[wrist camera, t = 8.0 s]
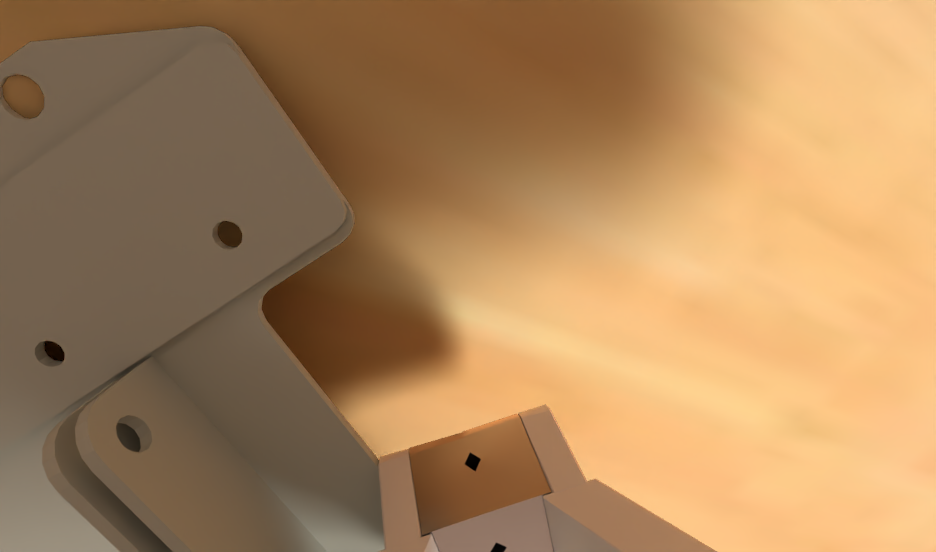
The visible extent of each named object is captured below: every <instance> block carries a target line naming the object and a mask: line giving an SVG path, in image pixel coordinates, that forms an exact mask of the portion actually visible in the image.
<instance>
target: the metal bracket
mask: <svg viewBox="0 0 936 552" xmlns="http://www.w3.org/2000/svg"><path fill="white" fill-rule="evenodd" d="M18 74H19V75H24V76H28V77H29V78H31V79H32V80H33V81H34V82H36V83H37V84H38V85H39V87H40V89H41V91H42V93H43V95H44V108H43V110H42V111H41V113H40V114H39V115H38V117H35V118H31V119H28V118H24V117H23V116H21V115H20V114H18V113H16V112H15V111H13V110H12V109H11V108H10V106H9V105H8V103H7V102H6V101H5V99H4V97H3V90H2V86H3V84H4V82H5V81H6V79H7V78H8V77H11V76H14V75H18ZM222 221H229V222H233V223H234V224H236V225H237V226H238V227H239V228H240V230H241V232H242V242H241V243H240V245H239V246H237V247H231V246H227V245H226V244H224V243H223V242H222V241H221V240H220V238H219V236H218V226H219V225H220V224H221V223H222ZM354 224H355V222H354V212H353V210H352V208H351V206H350V204H349V203H348V201H347V200H346V198H345V197H344V195H343V194H342V193H341V191H340V190H339V188H338V187H337V185H336V184H335V183H334V181H333V180H332V178H331V177H330V175H329V174H328V173H327V171H326V170H325V168H324V167H323V165H322V164H321V163H320V161H319V160H318V158H317V157H316V155H315V154H314V153H313V151H312V150H311V148H310V147H309V145H308V144H307V143H306V141H305V140H304V138H303V137H302V136H301V134H300V133H299V131H298V130H297V128H296V127H295V126H294V124H293V123H292V121H291V120H290V118H289V117H288V116H287V114H286V113H285V111H284V110H283V108H282V107H281V106H280V104H279V103H278V101H277V100H276V98H275V97H274V96H273V94H272V93H271V91H270V90H269V88H268V87H267V86H266V84H265V83H264V81H263V80H262V78H261V77H260V76H259V74H258V73H257V71H256V70H255V68H254V67H253V66H252V64H251V63H250V61H249V60H248V58H247V57H246V56H245V54H244V53H243V51H242V50H241V48H240V47H239V46H238V44H237V43H236V42H235V41H234V40H233V39H232V38H231V37H230V36H229V35H227V34H226V33H224V32H222V31H220V30H218V29H216V28H214V27H207V26H195V27H185V28H174V29H163V30H152V31H141V32H131V33H120V34H109V35H98V36H87V37H77V38H66V39H55V40H44V41H33V42H29V43H28V44H26V45H25V46H23V47H22V48H21V49H19V50H18V51H16V52H15V53H14V54H12V55H11V56H10V57H8V58H7V59H5V60H4V61H3V62H1V63H0V552H378V551H381V550H384V549H385V545H384V532H383V520H382V508H381V495H380V483H379V471H378V464H379V460H378V458H377V457H376V456H375V455H374V453H373V452H372V451H371V450H370V449H369V447H368V446H367V445H366V444H365V442H364V441H363V440H362V439H361V437H360V436H359V435H358V434H357V432H356V431H355V430H354V429H353V427H352V426H351V425H350V424H349V422H348V421H347V420H346V419H345V417H344V416H343V415H342V414H341V412H340V411H339V410H338V409H337V407H336V406H335V405H334V404H333V402H332V401H331V400H330V399H329V397H328V396H327V395H326V394H325V393H324V391H323V390H322V389H321V388H320V386H319V385H318V384H317V383H316V381H315V380H314V379H313V378H312V376H311V375H310V374H309V373H308V371H307V370H306V369H305V368H304V366H303V365H302V364H301V363H300V361H299V360H298V359H297V358H296V356H295V355H294V354H293V353H292V351H291V350H290V349H289V348H288V346H287V345H286V344H285V343H284V342H283V340H282V339H281V338H280V337H279V335H278V334H277V333H276V332H275V330H274V329H273V328H272V327H271V325H270V324H269V323H268V322H267V320H266V318H265V316H264V313H263V311H262V302H263V296H264V295H265V294H266V293H267V292H268V291H269V290H270V289H271V288H273V287H275V286H276V285H278V284H279V283H281V282H282V281H284V280H285V279H287V278H288V277H290V276H291V275H293V274H295V273H296V272H298V271H299V270H301V269H302V268H304V267H305V266H307V265H308V264H310V263H311V262H313V261H314V260H316V259H318V258H319V257H321V256H322V255H324V254H325V253H327V252H328V251H330V250H331V249H333V248H334V247H336V246H338V245H339V244H341V243H342V242H343V241H344V240H345V239H346V238H347V237H348V236H349V235H350V234H351V232H352V229H353V227H354ZM46 341H52V342H55V343H57V344H58V345H59V346H61V348H62V349H63V351H64V353H65V356H64V361H56V360H53V359H52V358H50V357H49V356H48V355H47V353H46V352H45V350H44V343H45V342H46Z"/></svg>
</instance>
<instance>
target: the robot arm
mask: <svg viewBox="0 0 936 552" xmlns="http://www.w3.org/2000/svg"><path fill="white" fill-rule="evenodd" d="M378 471H379V483H380V495H381V508H382V520H383V532H384V545H385V549H384V550H381V551H378V552H717V551H715V550H713V549H712V548H710V547H708V546H707V545H705V544H703V543H702V542H700V541H698V540H697V539H695V538H693V537H692V536H690V535H688V534H687V533H685V532H684V531H682V530H680V529H679V528H677V527H675V526H674V525H672V524H670V523H669V522H667V521H665V520H664V519H662V518H660V517H659V516H657V515H655V514H654V513H652V512H650V511H649V510H647V509H645V508H644V507H642V506H640V505H639V504H637V503H635V502H634V501H632V500H630V499H629V498H627V497H625V496H624V495H622V494H620V493H619V492H617V491H615V490H614V489H612V488H611V487H609V486H607V485H606V484H604V483H602V482H601V481H599V480H597V479H593V480H590V481H587V480H586V478H585V476H584V474H583V472H582V470H581V469H580V467H579V465H578V463H577V461H576V459H575V457H574V455H573V453H572V451H571V449H570V447H569V445H568V443H567V441H566V439H565V437H564V435H563V433H562V431H561V429H560V427H559V425H558V423H557V421H556V419H555V417H554V415H553V413H552V411H551V410H550V408H549V407H548V406H547V405H542V406H539V407H536V408H533V409H530V410H527V411H524V412H521V413H518V415H517V414H514V415H511V416H508V417H505V418H502V419H499V420H496V421H493V422H490V423H487V424H484V425H481V426H478V427H475V428H472V429H469V430H466V431H463V432H462V433H459V434H455V435H452V436H448V437H445V438H441V439H438V440H435V441H431V442H428V443H424V444H421V445H417V446H414V447H411V448H409V449H405V450H402V451H399V452H395V453H392V454H389V455H385V456H382V457H380V459H379V464H378Z"/></svg>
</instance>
